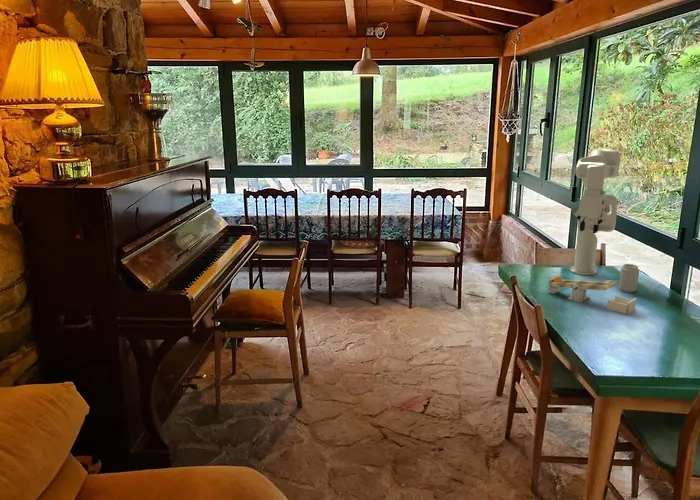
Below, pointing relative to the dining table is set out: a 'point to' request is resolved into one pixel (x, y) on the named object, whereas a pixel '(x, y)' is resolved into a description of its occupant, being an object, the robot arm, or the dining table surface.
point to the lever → (584, 284)
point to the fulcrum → (577, 293)
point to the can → (629, 278)
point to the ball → (557, 279)
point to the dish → (622, 305)
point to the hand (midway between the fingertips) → (588, 231)
